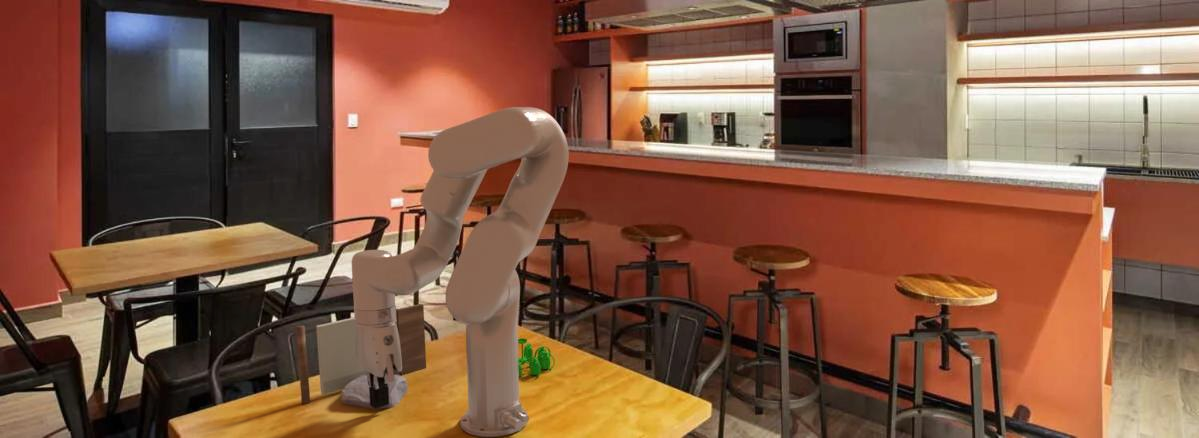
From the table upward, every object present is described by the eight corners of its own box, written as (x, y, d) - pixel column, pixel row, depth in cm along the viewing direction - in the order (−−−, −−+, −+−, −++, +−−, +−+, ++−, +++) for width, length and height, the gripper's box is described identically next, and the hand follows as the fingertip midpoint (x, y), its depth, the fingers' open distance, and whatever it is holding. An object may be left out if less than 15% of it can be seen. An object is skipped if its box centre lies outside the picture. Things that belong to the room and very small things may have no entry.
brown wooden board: (427, 368, 158) (424, 300, 156) (304, 405, 138) (298, 328, 136) (422, 366, 160) (419, 299, 157) (300, 402, 140) (294, 326, 137)
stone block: (394, 418, 137) (411, 389, 146) (390, 398, 135) (407, 369, 145) (337, 418, 138) (357, 389, 147) (332, 398, 136) (353, 370, 146)
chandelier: (500, 356, 167) (499, 328, 166) (561, 359, 165) (560, 331, 164) (481, 379, 152) (480, 349, 151) (547, 383, 150) (547, 352, 149)
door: (387, 373, 153) (384, 310, 151) (390, 375, 152) (386, 311, 150) (320, 393, 142) (316, 325, 140) (323, 394, 142) (318, 327, 139)
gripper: (413, 318, 129) (416, 411, 132) (374, 303, 139) (378, 389, 142) (376, 327, 124) (380, 423, 127) (338, 310, 134) (343, 399, 137)
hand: (379, 405), depth 134 cm, fingers closed
